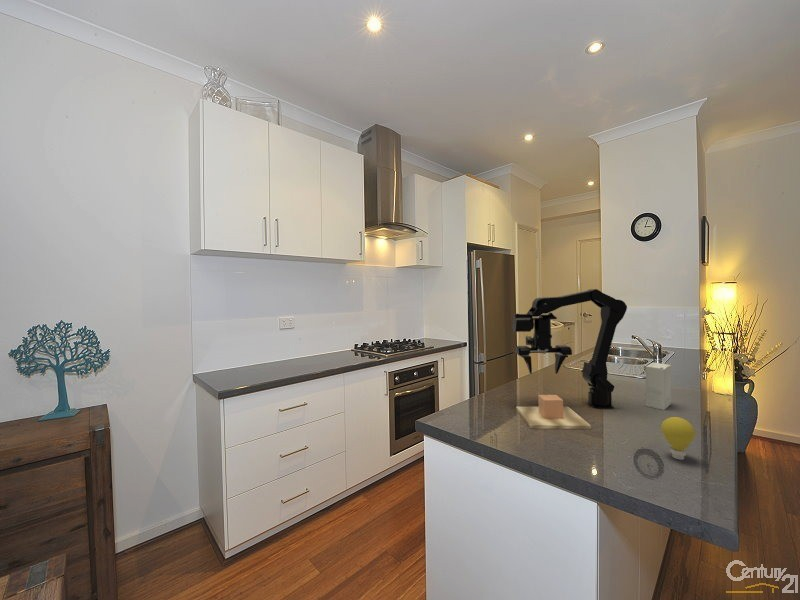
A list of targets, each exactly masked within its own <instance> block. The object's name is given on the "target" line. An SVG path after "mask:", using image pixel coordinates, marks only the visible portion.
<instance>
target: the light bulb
mask: <svg viewBox="0 0 800 600" xmlns="http://www.w3.org/2000/svg"><path fill="white" fill-rule="evenodd" d="M660 430H661V433H662V434H663V436H664V438H665V440H666V441H667V443H669V445H670V448H669V453H671V457H672V458H673V459H676V460H685V457H686V456H687V450H686V448H688V446H690V444H691V443H692V442H693V441H694V439H695V438H696V432H695V431H696V430H695V428H694V427H693V425H692V423H690V422H689V421H688V420H686V419H684V418H682V417H680V416H679V417H678V416H671V417H668V418H665V419H664V420H663V422H662V423H661V427H660Z"/></svg>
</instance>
